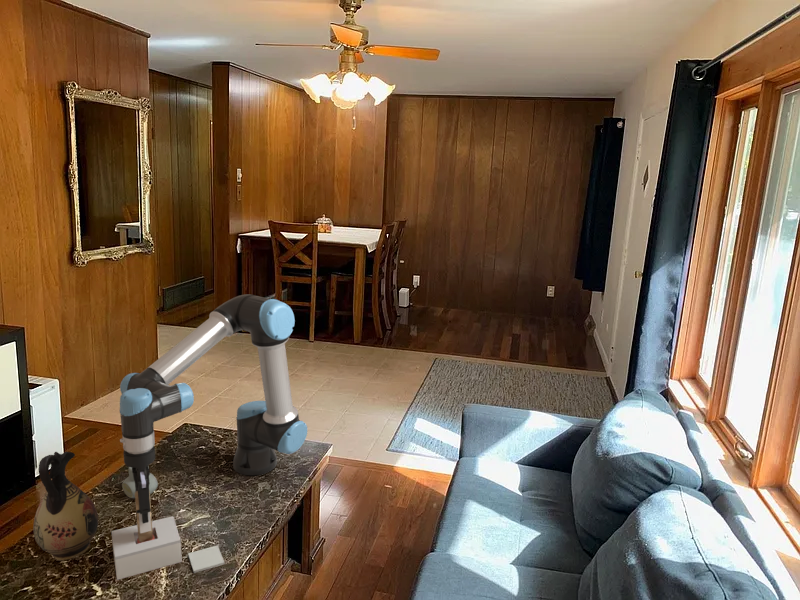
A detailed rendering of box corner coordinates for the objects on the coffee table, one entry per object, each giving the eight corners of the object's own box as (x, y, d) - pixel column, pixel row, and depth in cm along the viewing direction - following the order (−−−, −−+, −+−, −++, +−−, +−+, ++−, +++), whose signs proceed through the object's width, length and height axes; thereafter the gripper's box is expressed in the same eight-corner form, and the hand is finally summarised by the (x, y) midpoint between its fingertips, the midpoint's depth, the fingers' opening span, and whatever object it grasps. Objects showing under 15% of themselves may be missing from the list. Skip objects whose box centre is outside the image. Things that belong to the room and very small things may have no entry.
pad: (217, 547, 169) (217, 545, 169) (224, 564, 162) (224, 562, 162) (188, 555, 165) (188, 553, 165) (193, 573, 159) (193, 571, 158)
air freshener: (120, 491, 194) (117, 463, 192) (144, 481, 200) (142, 454, 198) (136, 505, 187) (133, 476, 185) (161, 494, 193) (159, 466, 191)
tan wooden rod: (151, 533, 165) (148, 487, 161) (153, 540, 162) (150, 494, 158) (137, 536, 163) (134, 490, 160) (139, 544, 160) (135, 497, 157)
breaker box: (174, 536, 173) (173, 516, 171) (181, 561, 163) (180, 539, 161) (113, 552, 165) (111, 531, 163) (117, 579, 155) (115, 557, 153)
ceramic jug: (58, 531, 173) (47, 436, 166) (110, 533, 173) (102, 439, 166) (19, 570, 157) (6, 467, 150) (78, 574, 157) (66, 471, 149)
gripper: (120, 437, 161) (126, 514, 167) (126, 465, 147) (132, 548, 153) (150, 431, 165) (155, 507, 170) (159, 459, 151) (164, 540, 156)
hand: (144, 526), depth 161 cm, fingers closed on tan wooden rod, 3 cm apart
